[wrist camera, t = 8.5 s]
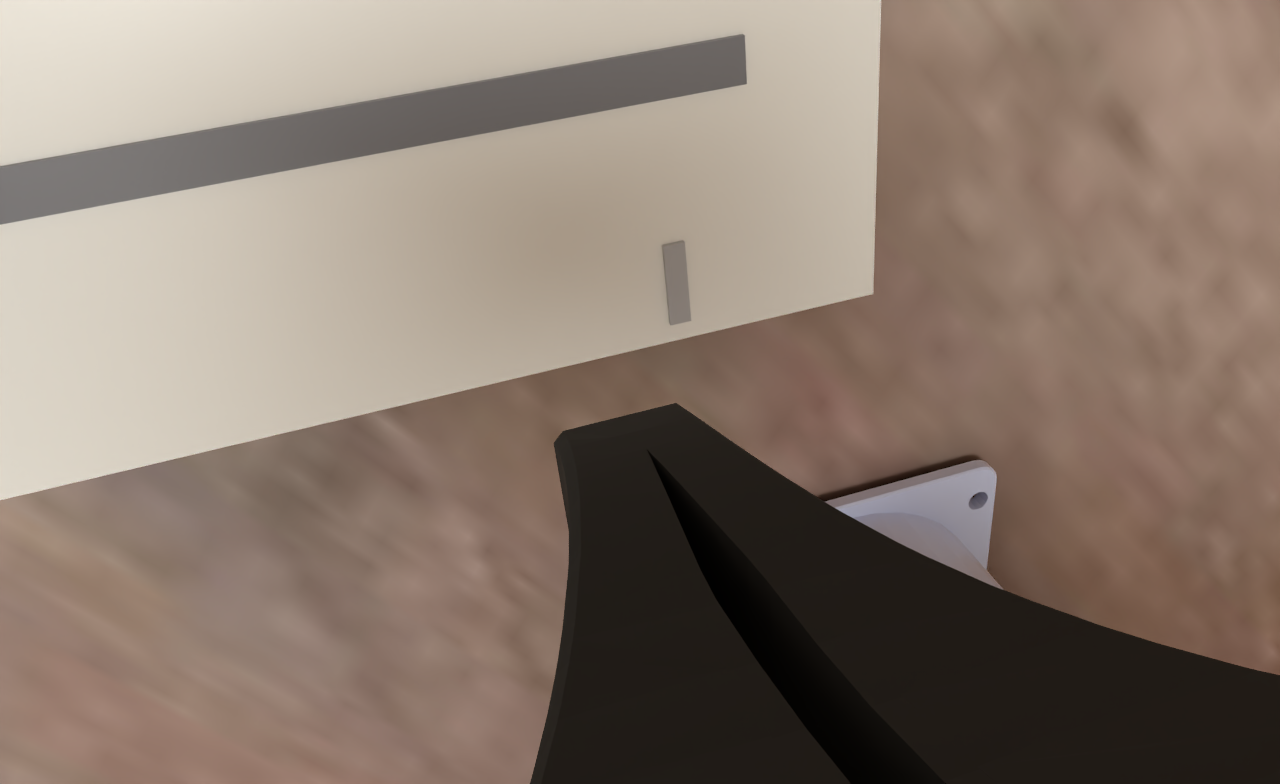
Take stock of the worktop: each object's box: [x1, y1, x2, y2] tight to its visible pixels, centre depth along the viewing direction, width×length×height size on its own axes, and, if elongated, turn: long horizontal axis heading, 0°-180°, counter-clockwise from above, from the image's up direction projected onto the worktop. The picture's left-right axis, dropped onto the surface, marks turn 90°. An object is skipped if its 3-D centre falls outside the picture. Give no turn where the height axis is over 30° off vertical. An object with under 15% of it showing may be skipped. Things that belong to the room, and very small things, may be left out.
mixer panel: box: [0, 0, 881, 500], centre depth 16 cm, size 10×24×2 cm, turn 96°
